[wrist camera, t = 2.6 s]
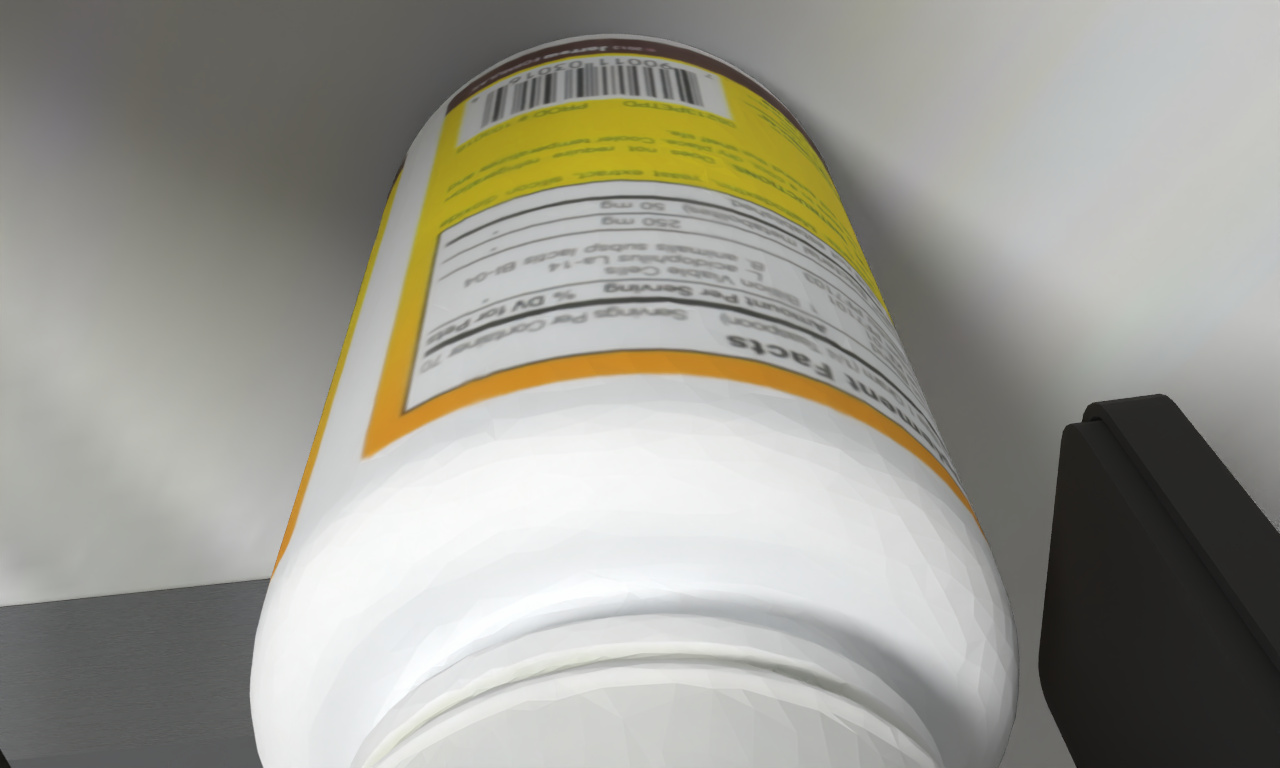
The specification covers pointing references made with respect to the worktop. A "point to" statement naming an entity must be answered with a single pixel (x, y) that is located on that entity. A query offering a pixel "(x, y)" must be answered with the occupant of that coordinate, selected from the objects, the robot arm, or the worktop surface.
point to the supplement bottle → (627, 459)
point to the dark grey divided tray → (131, 679)
